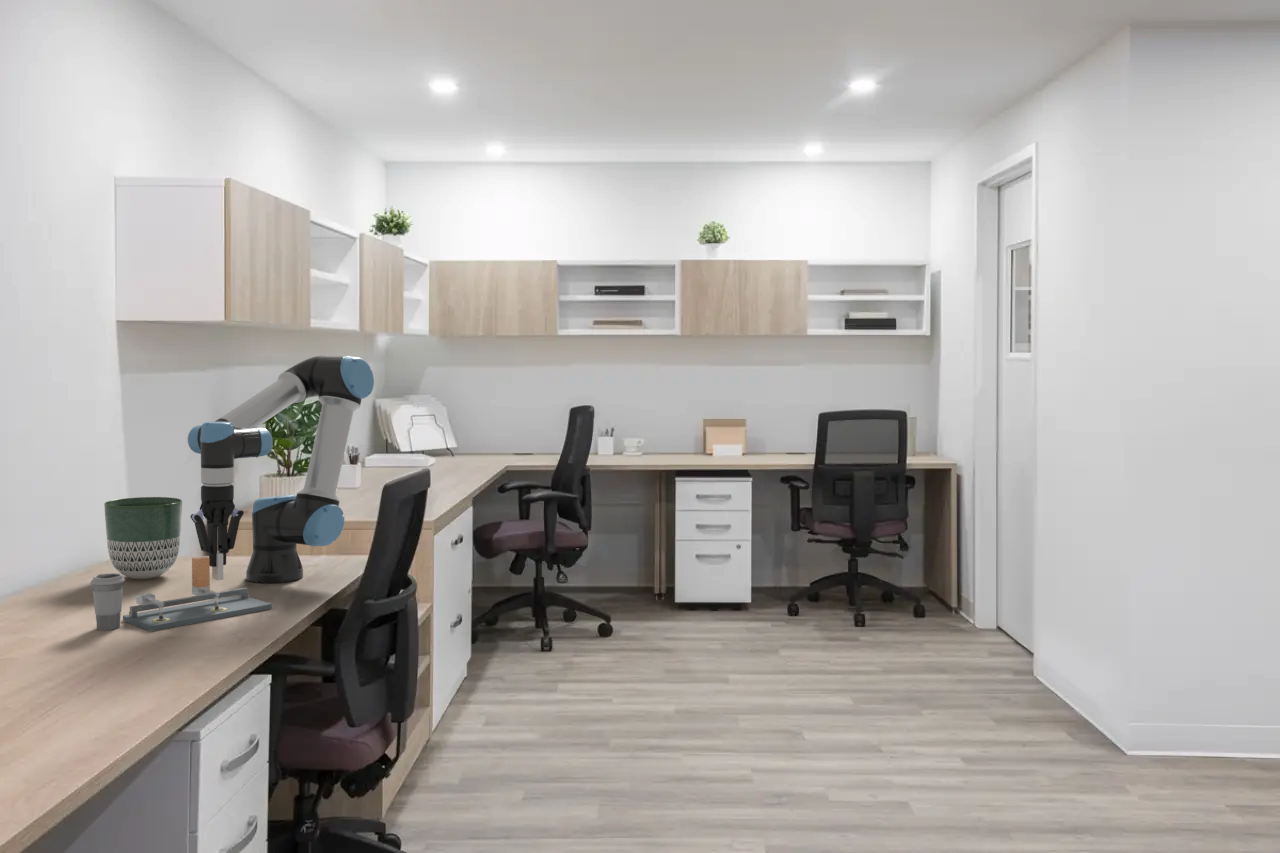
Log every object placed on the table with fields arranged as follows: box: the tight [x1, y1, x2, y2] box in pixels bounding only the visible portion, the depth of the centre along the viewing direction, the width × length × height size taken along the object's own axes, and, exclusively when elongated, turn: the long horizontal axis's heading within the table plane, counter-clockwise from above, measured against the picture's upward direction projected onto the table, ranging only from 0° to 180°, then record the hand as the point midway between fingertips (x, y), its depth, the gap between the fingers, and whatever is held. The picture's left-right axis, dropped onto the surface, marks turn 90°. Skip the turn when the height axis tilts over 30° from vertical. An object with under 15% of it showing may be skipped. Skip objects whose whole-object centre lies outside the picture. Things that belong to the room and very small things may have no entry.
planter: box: [103, 496, 183, 580], centre depth 290 cm, size 20×20×21 cm
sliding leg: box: [191, 555, 220, 609], centre depth 253 cm, size 3×10×11 cm, turn 50°
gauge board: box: [122, 594, 273, 632], centre depth 251 cm, size 30×14×1 cm, turn 140°
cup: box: [90, 572, 126, 631], centre depth 237 cm, size 7×7×12 cm
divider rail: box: [128, 587, 250, 619], centre depth 251 cm, size 29×10×5 cm, turn 140°
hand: (217, 578), depth 258 cm, fingers closed
